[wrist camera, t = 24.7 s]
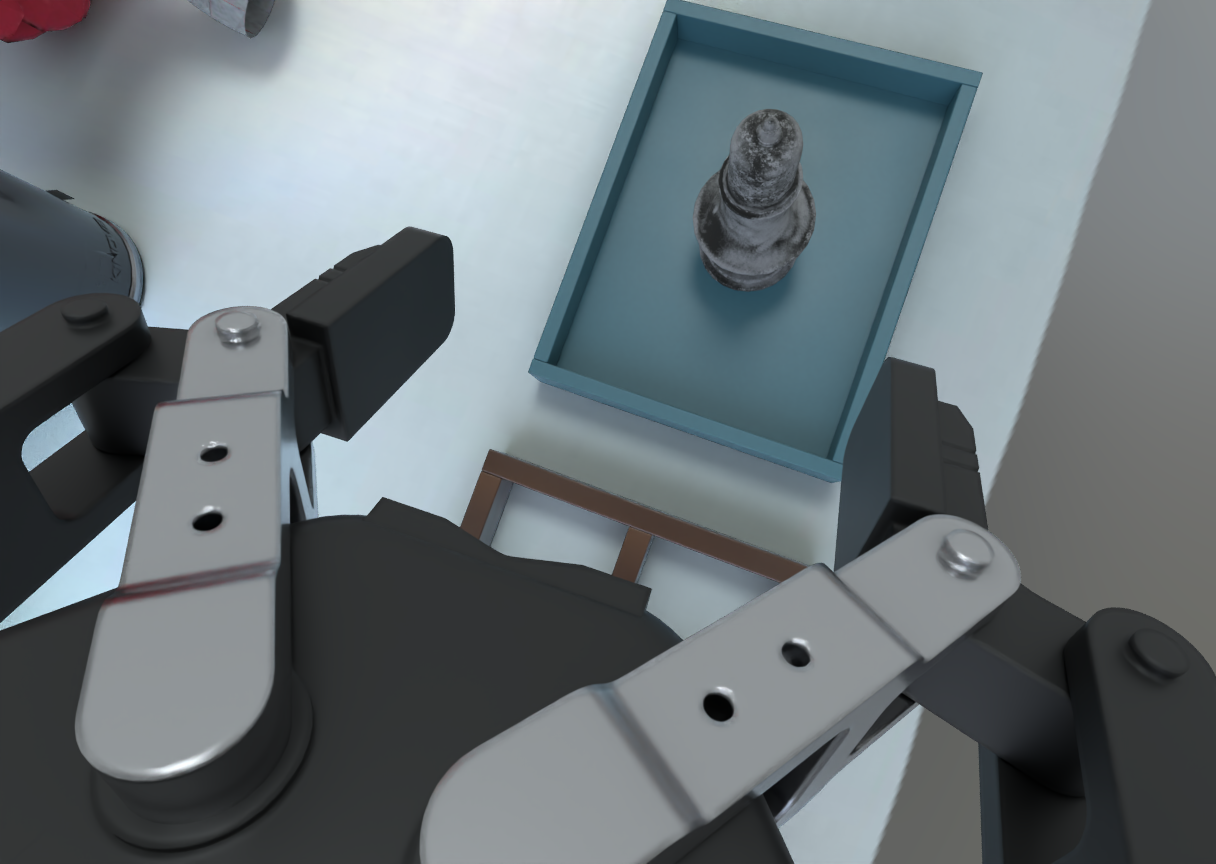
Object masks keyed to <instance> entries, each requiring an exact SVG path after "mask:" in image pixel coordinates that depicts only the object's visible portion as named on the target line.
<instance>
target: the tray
mask: <svg viewBox="0 0 1216 864" xmlns="http://www.w3.org/2000/svg"><path fill="white" fill-rule="evenodd" d="M982 74H983V73H982V72H977V71H973V70H969V69H965V68H961V67H957V66H953V65H948V64H944V63H940V62H936V61H932V60H928V59H923V58H919V57H915V56H911V55H907V54H903V53H899V52H894V51H890V50H886V49H882V48H878V47H874V46H869V45H865V44H861V43H857V42H853V41H849V40H845V39H840V38H836V37H832V36H828V35H824V34H820V33H815V32H811V31H807V30H803V29H799V28H795V27H791V26H786V25H782V24H778V23H774V22H770V21H766V20H761V19H757V18H753V17H749V16H745V15H741V14H737V13H732V12H728V11H724V10H720V9H716V8H712V7H707V6H703V5H699V4H695V3H691V2H687V1H683V0H667V2H666V4H665V7H664V10H663V13H662V15H661V18H660V21H659V23H658V26H657V29H656V31H655V34H654V37H653V39H652V42H651V45H650V47H649V50H648V53H647V55H646V58H645V61H644V64H643V66H642V69H641V72H640V74H639V77H638V80H637V82H636V85H635V88H634V90H633V93H632V96H631V98H630V101H629V104H628V106H627V109H626V112H625V114H624V117H623V120H622V122H621V125H620V128H619V130H618V133H617V136H616V138H615V141H614V144H613V146H612V149H611V152H610V154H609V157H608V160H607V162H606V165H605V168H604V170H603V173H602V176H601V178H600V181H599V184H598V186H597V189H596V192H595V195H594V197H593V200H592V203H591V205H590V208H589V211H588V213H587V216H586V219H585V221H584V224H583V227H582V229H581V232H580V235H579V237H578V240H577V243H576V245H575V248H574V251H573V253H572V256H571V259H570V261H569V264H568V267H567V269H566V272H565V275H564V277H563V280H562V283H561V285H560V288H559V291H558V293H557V296H556V299H555V301H554V304H553V307H552V309H551V312H550V315H549V317H548V320H547V323H546V326H545V328H544V331H543V334H542V336H541V339H540V342H539V344H538V347H537V350H536V352H535V355H534V359H533V360H532V363H531V365H530V368H529V371H528V372H529V373H530V374H531V375H532V376H534V377H535V378H536V379H537V380H539V381H540V382H543V383H546V384H549V385H551V386H554V387H557V388H560V389H563V390H566V391H569V392H572V393H574V394H577V395H580V396H583V397H586V398H589V399H592V400H595V401H598V402H600V403H603V404H606V405H609V406H612V407H615V408H618V409H621V410H623V411H626V412H629V413H632V414H635V415H638V416H641V417H644V418H646V419H649V420H652V421H655V422H658V423H661V424H664V425H667V426H669V427H672V428H675V429H678V430H681V431H684V432H687V433H690V434H692V435H695V436H698V437H701V438H704V439H707V440H710V441H713V442H715V443H718V444H721V445H724V446H727V447H730V448H733V449H736V450H738V451H741V452H744V453H747V454H750V455H753V456H756V457H759V458H761V459H764V460H767V461H770V462H773V463H776V464H779V465H782V466H784V467H787V468H790V469H793V470H796V471H799V472H802V473H805V474H807V475H810V476H813V477H816V478H819V479H822V480H825V481H828V482H830V483H834V482H840V481H841V480H842V468H843V458H844V453H845V449H846V445H847V442H848V439H849V436H850V433H851V431H852V428H853V426H854V424H855V422H856V419H857V417H858V415H859V413H860V411H861V409H862V407H863V405H864V402H865V400H866V398H867V396H868V394H869V392H870V390H871V387H872V385H873V383H874V381H875V379H876V377H877V375H878V373H879V370H880V368H881V366H882V365H883V362H884V359H885V357H886V354H887V351H888V348H889V345H890V342H891V339H892V336H893V333H894V330H895V327H896V324H897V322H898V319H899V316H900V313H901V310H902V307H903V304H904V301H905V298H906V295H907V292H908V289H909V287H910V284H911V281H912V278H913V275H914V272H915V269H916V266H917V263H918V260H919V257H920V255H921V252H922V249H923V246H924V243H925V240H926V237H927V234H928V231H929V228H930V225H931V222H932V220H933V217H934V214H935V211H936V208H937V205H938V202H939V199H940V196H941V193H942V190H943V187H944V185H945V182H946V179H947V176H948V173H949V170H950V167H951V164H952V161H953V158H954V155H955V152H956V150H957V147H958V144H959V141H960V138H961V135H962V132H963V129H964V126H965V123H966V120H967V117H968V115H969V112H970V109H971V106H972V103H973V100H974V97H975V94H976V91H977V88H978V86H979V83H980V80H981V77H982ZM764 109H777V110H780V111H783V112H786V113H787V114H789V115H790V116H792V117H793V118H794V119H795V120H796V122H797V123H798V124H799V127H800V129H801V131H802V137H803V150H802V155H801V158H800V164H801V166H802V171H803V180H804V182H805V183H806V184H807V185H808V187H809V189H810V191H811V194H812V196H813V198H814V202H815V209H816V220H815V227H814V231H813V234H812V236H811V238H810V240H809V243H808V245H807V246H806V248H805V249H804V250H803V251H802V253H801V254H800V255H799V256H798V257H797V258H796V260H795V262H794V265H793V267H792V268H791V269H790V271H789V272H788V273H787V274H786V276H785V277H784V278H782V279H781V280H780V281H778V282H777V283H776V284H774V285H772V286H770V287H767V288H765V289H762V290H757V291H750V292H746V291H737V290H733V289H731V288H728V287H726V286H723V285H722V284H720V283H719V282H718V281H716V280H715V279H713V278H712V276H711V275H710V274H709V273H708V271H707V270H706V269H705V267H704V264H703V262H702V260H701V257H700V249H699V243H698V241H697V238H696V236H695V234H694V226H693V212H694V206H695V202H696V199H697V197H698V195H699V193H700V190H701V188H702V187H703V186H704V185H705V184H706V182H707V181H708V180H709V179H710V177H711V176H713V175H714V174H715V173H717V172H718V171H719V170H720V169H721V167H722V165H723V163H724V160H725V159H726V158H727V157H728V155H729V153H730V144H731V139H732V136H733V134H734V132H735V130H736V128H737V126H738V125H739V124H740V123H741V121H742V120H743V119H745V118H746V117H747V116H748V115H750V114H752V113H754V112H756V111H759V110H764Z"/></svg>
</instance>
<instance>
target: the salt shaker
mask: <svg viewBox="0 0 1216 864" xmlns="http://www.w3.org/2000/svg"><path fill="white" fill-rule="evenodd" d="M802 150H803V137H802V131H801V129H800V127H799V124H798V123H797V122H796V120H795V119H794V118H793V117H792V116H790V115H789V114H787V113H786V112H783V111H780V110H777V109H764V110H759V111H756V112H754V113H752V114H750V115H748V116H747V117H746V118H745V119H743V120H742V121H741V123H740V124H739V125H738V126H737V128H736V130H735V132H734V134H733V136H732V139H731V144H730V153H729V155H728V157H727V158H726V159H725V160H724V163H723V165H722V167H721V169H720V170H719V171H718V172H717V173H715V174H714V175H713V176H711V177H710V179H709V180H708V181H707V182H706V184H705V185H704V186H703V187H702V188H701V190H700V193H699V195H698V197H697V199H696V202H695V206H694V212H693V226H694V234H695V236H696V238H697V241H698V243H699V249H700V257H701V260H702V262H703V264H704V267H705V269H706V270H707V271H708V273H709V274H710V275H711V276H712V278H713V279H715V280H716V281H718V282H719V283H720V284H722V285H723V286H726V287H728V288H731V289H733V290H737V291H746V292H750V291H757V290H762V289H765V288H767V287H770V286H772V285H774V284H776V283H777V282H778V281H780V280H781V279H782V278H784V277H785V276H786V274H787V273H788V272H789V271H790V269H791V268H792V267H793V265H794V262H795V260H796V258H797V257H798V256H799V255H800V254H801V253H802V251H803V250H804V249H805V248H806V246H807V245H808V243H809V240H810V238H811V236H812V234H813V231H814V227H815V220H816V209H815V202H814V198H813V196H812V194H811V191H810V189H809V187H808V185H807V184H806V183H805V182H804V180H803V171H802V166H801V164H800V158H801V155H802Z"/></svg>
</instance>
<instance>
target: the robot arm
mask: <svg viewBox="0 0 1216 864" xmlns="http://www.w3.org/2000/svg"><path fill="white" fill-rule="evenodd" d="M67 199H74V198H72V197H70V196H68V195H66V194H64V193H62V192H60V191H58V190H48V191H44V190H42V189H40V188H38V187H36V186H34V185H32V184H30V183H28V182H25V181H23V180H21V179H19V178H17V177H15V176H13V175H11V174H9V173H7V172H5V171H3V170H1V169H0V623H1V622H2V621H3V620H4V619H5V618H6V617H7V616H8V615H9V614H11V613H12V612H13V611H14V610H15V609H16V608H17V607H18V606H19V605H21V604H22V603H23V602H24V601H25V600H26V599H27V598H28V597H29V596H31V595H32V594H33V593H34V592H35V591H36V590H37V589H38V588H39V587H41V586H42V585H43V584H44V583H45V582H46V581H47V580H48V579H49V578H51V577H52V576H53V575H54V574H55V573H56V572H57V571H58V570H59V569H61V568H62V567H63V566H64V565H65V564H66V563H67V562H68V561H69V560H71V559H72V558H73V557H74V556H75V555H76V554H77V553H78V552H79V551H81V550H82V549H83V548H84V547H85V546H86V545H87V544H88V543H89V542H91V541H92V540H93V539H94V538H95V537H96V536H97V535H98V534H99V533H101V532H102V531H103V530H104V529H105V528H106V527H107V526H108V525H109V524H111V523H112V522H113V521H114V520H115V519H116V518H117V517H118V516H119V515H121V514H122V513H123V512H124V511H125V510H126V509H127V508H128V507H129V506H131V505H132V504H133V503H134V502H135V501H136V504H135V509H134V514H133V519H132V524H131V529H130V534H129V539H128V544H127V549H126V554H125V559H124V564H123V569H122V574H121V579H120V583H119V586H118V588H115V589H112V590H109V591H107V592H104V593H101V594H99V595H96V596H93V597H90V598H88V599H85V600H82V601H79V602H77V603H74V604H71V605H69V606H66V607H63V608H60V609H58V610H55V611H52V612H50V613H47V614H44V615H41V616H39V617H36V618H33V619H31V620H28V621H25V622H22V623H20V624H17V625H14V626H12V627H9V628H6V629H3V630H1V631H0V864H794V862H793V860H792V858H791V855H790V853H789V851H788V849H787V847H786V844H785V842H784V840H783V838H782V836H781V833H780V831H779V829H778V828H780V827H781V826H782V825H783V824H784V823H786V822H787V821H788V820H789V819H790V818H791V817H793V816H794V815H795V814H796V813H797V812H798V811H799V810H801V809H802V808H803V807H804V806H805V805H806V804H807V803H808V802H809V801H810V800H811V799H812V798H813V797H814V796H815V795H816V794H817V793H818V792H819V791H820V790H821V789H822V788H823V787H824V786H825V785H826V784H827V783H828V782H829V781H830V780H831V779H832V778H833V777H834V776H835V775H836V774H837V773H838V772H839V771H841V770H842V769H843V768H844V767H845V766H846V765H847V764H849V763H850V762H851V761H852V760H853V759H855V758H856V757H857V756H858V755H859V754H861V753H862V752H863V751H864V750H865V749H867V748H868V747H869V746H870V745H871V744H872V743H874V742H875V741H876V740H877V739H878V738H880V737H881V736H882V735H883V734H884V733H886V732H887V731H888V730H889V729H890V728H892V727H893V726H894V725H895V724H896V723H897V722H899V721H900V720H901V719H902V718H903V717H905V716H906V715H907V714H908V713H909V712H911V711H912V710H913V709H914V708H915V707H917V706H918V705H919V704H920V705H921V706H923V707H925V708H926V709H928V710H929V711H931V712H932V713H934V714H935V715H937V716H938V717H940V718H941V719H943V720H944V721H946V722H948V723H949V724H950V725H952V726H953V727H955V728H956V729H958V730H960V731H961V732H962V733H964V734H966V735H967V736H969V737H970V738H972V739H973V740H975V741H976V742H978V745H979V746H978V747H979V777H980V805H981V832H982V833H981V835H982V864H1216V676H1215V674H1214V672H1213V670H1212V668H1211V667H1210V665H1209V664H1208V662H1207V661H1206V660H1205V659H1204V657H1203V656H1202V655H1201V653H1200V652H1199V651H1197V649H1196V648H1195V647H1194V646H1193V645H1192V644H1191V643H1189V642H1188V641H1187V640H1186V639H1185V638H1184V637H1183V636H1181V635H1180V634H1179V633H1177V632H1176V631H1175V630H1173V629H1172V628H1170V627H1168V626H1167V625H1165V624H1164V623H1162V622H1160V621H1158V620H1157V619H1155V618H1153V617H1150V616H1148V615H1146V614H1143V613H1140V612H1137V611H1134V610H1131V609H1125V608H1106V609H1102V610H1100V611H1098V612H1096V613H1095V614H1094V615H1093V616H1092V617H1091V618H1090V619H1089V620H1088V621H1087V622H1085V621H1083V620H1082V619H1080V618H1078V617H1076V616H1074V615H1072V614H1071V613H1069V612H1067V611H1065V610H1063V609H1062V608H1060V607H1058V606H1056V605H1054V604H1052V603H1051V602H1049V601H1047V600H1045V599H1044V598H1042V597H1040V596H1039V595H1037V594H1035V593H1034V592H1032V591H1030V590H1029V589H1028V588H1026V587H1025V586H1024V585H1022V584H1021V583H1020V582H1021V573H1020V568H1019V565H1018V562H1017V561H1016V559H1015V557H1014V555H1013V554H1012V553H1011V551H1010V550H1009V549H1008V547H1007V546H1006V545H1005V544H1004V543H1003V542H1002V541H1001V540H1000V539H998V538H997V537H996V536H995V535H994V534H992V533H991V532H989V531H988V525H987V519H986V512H985V505H984V498H983V492H982V485H981V478H980V473H979V472H978V469H979V465H978V458H977V455H976V454H975V452H976V445H975V438H974V431H973V428H972V426H971V425H970V424H969V422H968V421H967V419H966V418H965V416H964V415H963V414H962V412H961V411H960V409H959V408H958V407H957V406H955V405H951V404H948V403H944V402H940V401H938V397H937V386H936V374H935V370H934V369H933V368H929V367H926V366H922V365H918V364H915V363H911V362H907V361H903V360H900V359H896V358H892V357H888V358H887V359H886V360H885V361H884V363H883V365H882V366H881V368H880V370H879V373H878V375H877V377H876V379H875V381H874V383H873V385H872V387H871V390H870V392H869V394H868V396H867V398H866V400H865V402H864V405H863V407H862V409H861V411H860V413H859V415H858V417H857V419H856V422H855V424H854V426H853V428H852V431H851V433H850V436H849V439H848V442H847V445H846V449H845V453H844V458H843V468H842V480H841V492H840V504H839V516H838V528H837V540H836V552H835V564H834V572H833V571H832V570H831V569H829V568H828V567H827V566H826V565H825V564H824V563H817V564H814V565H811V566H809V567H807V568H805V569H804V570H802V571H800V572H799V573H797V574H795V575H794V576H792V577H790V578H788V579H787V580H785V581H783V582H782V583H780V584H778V585H777V586H775V587H773V588H772V589H770V590H768V591H766V592H765V593H763V594H761V595H760V596H758V597H756V598H755V599H753V600H751V601H750V602H748V603H746V604H745V605H743V606H741V607H739V608H738V609H736V610H734V611H733V612H731V613H729V614H728V615H726V616H724V617H723V618H721V619H719V620H717V621H716V622H714V623H712V624H711V625H709V626H707V627H706V628H704V629H702V630H701V631H699V632H697V633H696V634H694V635H692V636H690V637H689V638H687V639H685V640H684V641H683V640H682V639H681V638H680V637H679V636H678V635H677V634H676V633H675V632H674V631H673V630H672V629H671V628H670V627H668V626H667V625H666V624H665V623H663V622H662V621H661V620H660V619H658V618H657V617H655V616H654V615H652V614H651V613H649V612H648V611H646V608H647V604H648V601H649V597H650V593H651V590H652V589H651V588H648V587H645V586H642V585H639V584H636V583H633V582H631V581H628V580H625V579H622V578H619V577H616V576H613V575H610V574H607V573H604V572H601V571H598V570H595V569H592V568H589V567H587V566H584V565H578V564H569V563H561V562H552V561H544V560H535V559H527V558H519V557H511V556H506V555H504V554H501V553H499V552H498V551H496V550H494V549H493V548H491V547H490V546H488V545H487V544H485V543H483V542H482V541H480V540H479V539H477V538H475V537H474V536H472V535H471V534H469V533H468V532H466V531H464V530H463V529H461V528H460V527H458V526H457V525H455V524H453V523H452V522H450V521H449V520H447V519H446V518H443V517H440V516H437V515H434V514H431V513H428V512H425V511H422V510H419V509H416V508H413V507H411V506H408V505H405V504H402V503H399V502H396V501H393V500H390V499H387V498H384V497H382V498H381V499H380V501H379V502H378V503H377V504H376V505H375V507H374V508H373V509H372V510H371V512H370V513H369V514H368V515H367V516H364V515H335V516H325V517H319V518H318V501H317V482H316V463H315V451H314V447H313V442H312V441H313V440H314V439H315V438H316V437H317V436H318V435H319V434H320V433H322V434H325V435H329V436H332V437H335V438H338V439H341V440H344V441H347V442H348V441H349V440H350V439H351V438H352V437H353V436H354V435H355V434H356V432H357V431H358V430H359V429H360V428H361V427H362V426H363V425H364V424H365V423H366V422H367V421H368V420H369V419H370V418H371V417H372V416H373V415H374V414H375V413H376V412H377V411H378V410H379V409H380V408H381V407H382V406H383V405H384V404H385V403H386V402H387V400H388V399H389V398H390V397H391V396H392V395H393V394H394V393H395V392H396V391H397V390H398V389H399V388H400V387H401V386H402V385H403V384H404V383H405V382H406V381H407V380H408V379H409V378H410V377H411V376H412V375H413V374H414V373H415V372H416V371H417V370H418V368H419V367H420V366H421V365H422V364H423V363H424V362H425V361H426V360H427V359H428V358H429V357H430V356H431V355H432V354H433V353H434V352H435V351H436V350H437V349H438V348H439V347H440V346H441V345H442V344H443V343H444V341H445V340H446V339H447V337H448V335H449V333H450V331H451V329H452V326H453V322H454V316H455V295H454V260H453V246H452V243H451V240H450V239H449V238H448V237H447V236H444V235H440V234H436V233H433V232H429V231H425V230H422V229H418V228H414V227H406V228H404V229H403V230H401V231H400V232H399V233H397V234H396V235H394V236H393V237H392V238H390V239H389V240H387V241H386V242H385V243H383V244H382V245H376V246H373V247H370V248H367V249H364V250H360V251H357V252H354V253H352V254H350V255H349V256H347V257H346V258H344V259H343V260H342V261H340V262H339V263H337V264H336V265H334V268H333V269H331V268H330V269H329V270H327V271H326V272H324V273H323V274H321V275H320V276H319V279H314V280H313V281H311V282H310V283H308V284H307V285H305V286H304V287H303V288H301V289H300V290H298V291H297V292H295V293H294V294H292V295H291V296H289V297H288V298H287V299H285V300H284V301H282V302H281V303H279V304H278V305H276V306H275V307H274V308H272V309H271V310H270V309H267V308H262V307H255V306H238V307H230V308H225V309H221V310H217V311H214V312H212V313H209V314H207V315H205V316H203V317H201V318H200V319H198V320H197V321H196V322H194V323H193V324H192V326H191V327H190V328H189V330H184V329H172V328H159V327H148V326H147V323H146V321H145V318H144V315H143V312H142V310H141V307H140V305H139V303H140V299H141V294H142V288H143V269H142V263H141V259H140V256H139V253H138V250H137V248H136V246H135V244H134V243H133V241H132V239H131V238H130V237H129V236H128V234H127V233H126V232H125V231H124V230H123V229H122V228H120V227H119V226H118V225H116V224H115V223H113V222H111V221H109V220H107V219H105V218H103V217H101V216H99V215H97V214H94V213H91V212H87V211H85V210H83V209H80V208H78V207H76V206H74V205H72V204H70V203H68V202H66V201H64V200H67ZM70 403H72V404H73V406H74V408H75V410H76V412H77V414H78V416H79V418H80V420H81V422H82V424H83V426H84V428H85V431H83V432H82V433H81V434H79V435H78V436H77V437H75V438H74V439H73V440H71V441H70V442H69V443H67V444H66V445H65V446H63V447H62V448H61V449H59V450H58V451H57V452H55V453H54V454H52V455H51V456H50V457H48V458H47V459H46V460H44V461H43V462H42V463H40V464H39V465H38V466H36V467H35V468H34V469H32V470H31V471H30V472H28V470H27V468H26V467H25V465H24V463H23V461H22V457H21V451H22V446H23V443H24V441H25V439H26V438H27V436H28V435H29V433H30V432H31V431H32V430H34V429H35V428H36V427H37V426H39V425H40V424H42V423H43V422H45V421H46V420H47V419H49V418H50V417H52V416H53V415H55V414H56V413H57V412H59V411H60V410H62V409H63V408H65V407H66V406H68V405H69V404H70Z"/></svg>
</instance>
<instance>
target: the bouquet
mask: <svg viewBox="0 0 1216 864" xmlns="http://www.w3.org/2000/svg"><path fill="white" fill-rule="evenodd" d="M188 1H189V2H190V3H192V4H193V5H194V6H196V7H197V8H198V9H200V10H201V11H203V12H204V13H206V14H207V15H209V16H210V17H212V18H213V19H215V20H216V21H218V22H220V23H222V24H223V25H225V26H227V27H229V28H231V29H233V30H235V31H237V32H239V33H241V34H244V35H246V36H247V37H249V38H250V39H251V38H253V37H255V36H256V35H257V34H258V33H259V32H260V30H261V29H262V28H263V26H264V24H265V22H266V20H267V18H268V16H269V14H270V12H271V9H272V7H273V4H274V1H275V0H188ZM90 5H91V4H90V0H0V40H2V41H4V42H7V43H11V42H17V41H24V40H30V39H34V38H36V37H38V36H40V35H41V34H43V33H45V32H47V31H57V30H66V29H67V28H69V27H71V26H73V25H75V24H76V23H78V22H80V21H82V18H86V16H87V13H88V10H89V8H90Z"/></svg>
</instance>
